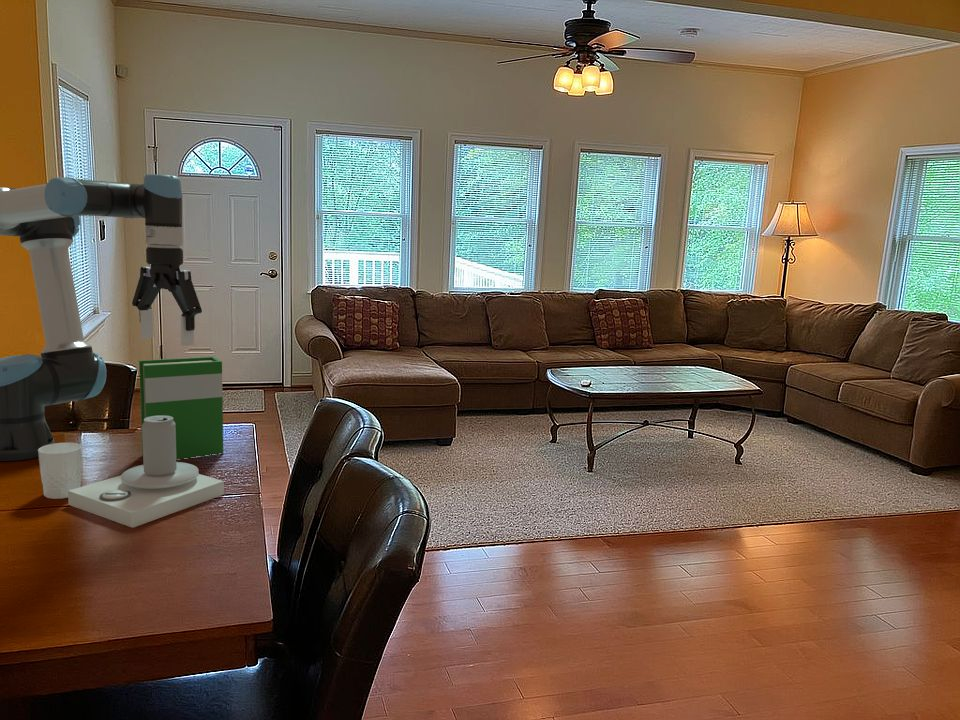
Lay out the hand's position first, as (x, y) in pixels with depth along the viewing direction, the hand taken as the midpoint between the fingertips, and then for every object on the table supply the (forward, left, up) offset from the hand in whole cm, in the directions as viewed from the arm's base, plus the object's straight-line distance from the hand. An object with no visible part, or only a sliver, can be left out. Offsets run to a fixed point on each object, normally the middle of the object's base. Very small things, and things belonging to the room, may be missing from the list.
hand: (167, 341), depth 164 cm
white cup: (-6, -22, -31) cm, 38 cm away
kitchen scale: (+11, -14, -31) cm, 35 cm away
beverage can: (+11, -11, -26) cm, 30 cm away
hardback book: (-8, +10, -31) cm, 33 cm away
